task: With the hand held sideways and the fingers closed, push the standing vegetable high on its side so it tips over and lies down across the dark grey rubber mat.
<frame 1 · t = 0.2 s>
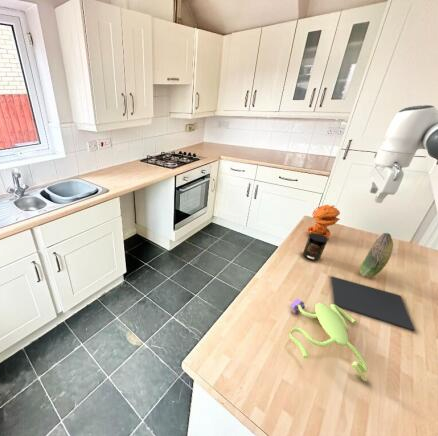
hand: (375, 197, 87), 31 cm above the counter, tool pointing down, fingers open, 8 cm apart
mat: (367, 301, 85), on the counter
vegetable: (367, 277, 95), on the counter
toy dinosaur: (317, 237, 120), on the counter
supplement container: (310, 257, 107), on the counter
figurine: (322, 337, 73), on the counter
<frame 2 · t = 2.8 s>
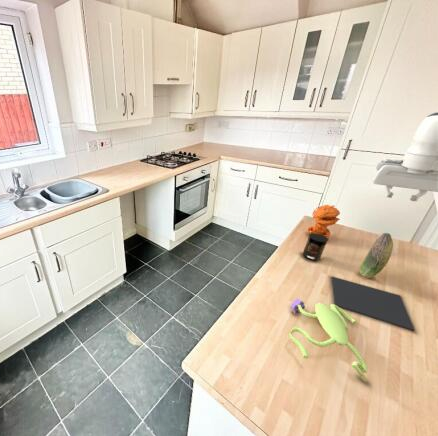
hand: (400, 198, 90), 29 cm above the counter, tool pointing down, fingers open, 5 cm apart
nothing on the counter moved.
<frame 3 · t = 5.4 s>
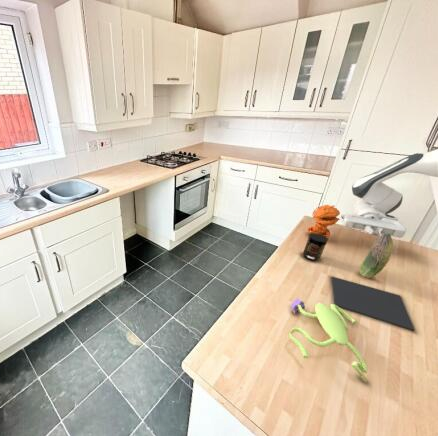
hand: (375, 234, 98), 13 cm above the counter, tool horizontal, fingers closed
nothing on the counter moved.
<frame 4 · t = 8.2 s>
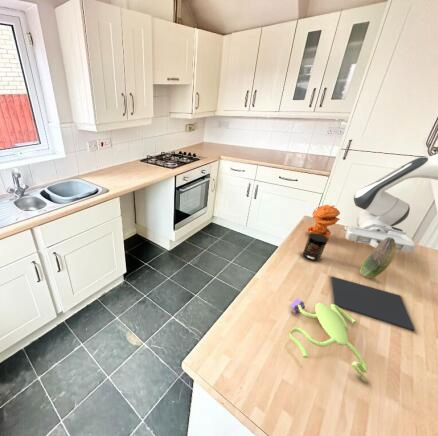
hand: (381, 249, 89), 13 cm above the counter, tool horizontal, fingers closed, pressing on vegetable
vegetable: (367, 277, 95), on the counter, touching gripper
everything else where it was.
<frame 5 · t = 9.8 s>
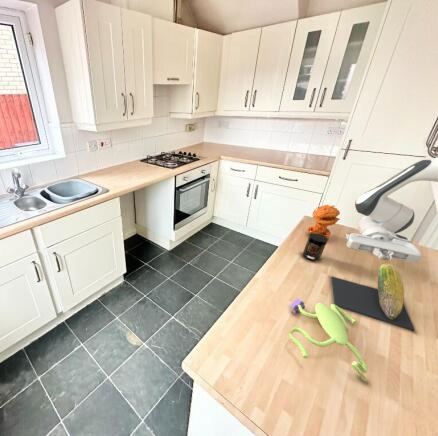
hand: (385, 258, 85), 13 cm above the counter, tool horizontal, fingers closed
vegetable: (388, 264, 86), point 10 cm above the counter, touching gripper
everything else where it was.
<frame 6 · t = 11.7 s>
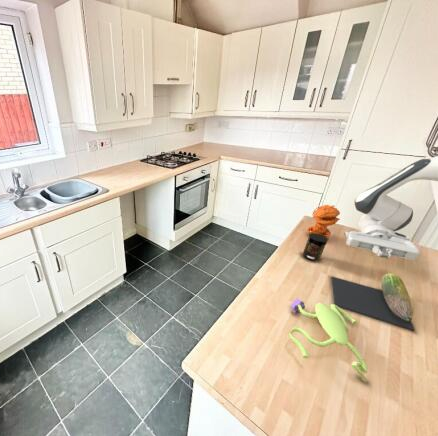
hand: (384, 256, 86), 13 cm above the counter, tool horizontal, fingers closed
vegetable: (389, 276, 89), point 5 cm above the counter, touching mat
everything else where it was.
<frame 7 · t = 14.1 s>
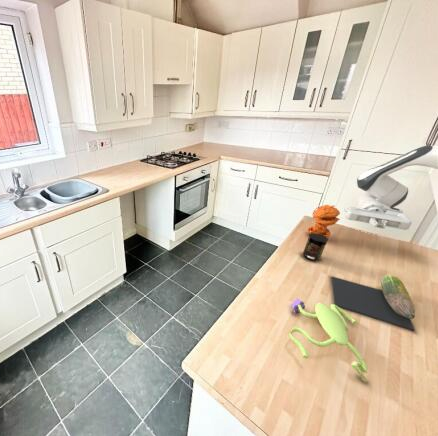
hand: (380, 226, 96), 17 cm above the counter, tool horizontal, fingers closed
vegetable: (388, 278, 89), point 3 cm above the counter, touching mat
everything else where it was.
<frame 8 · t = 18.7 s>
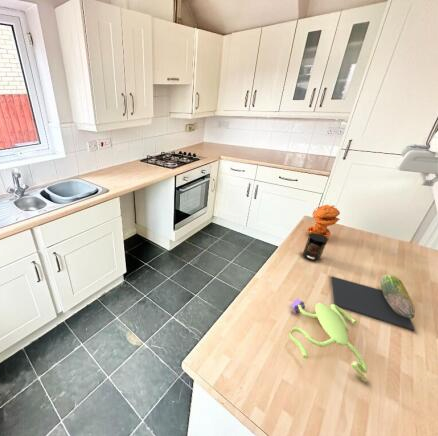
hand: (426, 185, 88), 34 cm above the counter, tool pointing down, fingers closed
nothing on the counter moved.
at the end: vegetable tilted 90°; vegetable inside the target area (5.7 cm from its centre), point 3.4 cm above the counter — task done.
